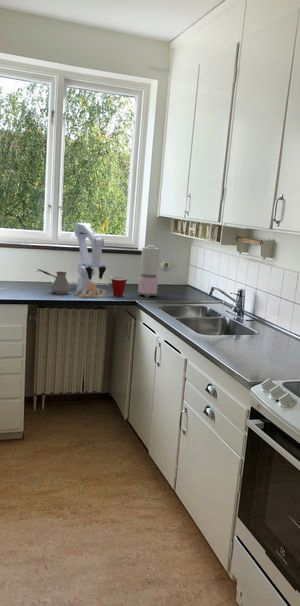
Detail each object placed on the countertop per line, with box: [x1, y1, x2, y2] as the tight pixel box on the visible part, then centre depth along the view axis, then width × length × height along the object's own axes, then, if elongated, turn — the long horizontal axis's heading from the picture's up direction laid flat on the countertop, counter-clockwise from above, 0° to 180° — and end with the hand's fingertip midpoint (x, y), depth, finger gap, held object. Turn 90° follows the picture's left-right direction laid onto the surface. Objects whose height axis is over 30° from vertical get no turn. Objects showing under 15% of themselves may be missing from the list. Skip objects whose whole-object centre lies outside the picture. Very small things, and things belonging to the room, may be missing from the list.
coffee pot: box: [37, 268, 71, 295], centre depth 307 cm, size 21×12×15 cm, turn 124°
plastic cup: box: [110, 275, 128, 298], centre depth 316 cm, size 11×11×12 cm
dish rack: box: [74, 288, 108, 299], centre depth 311 cm, size 11×17×4 cm, turn 128°
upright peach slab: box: [86, 281, 98, 295], centre depth 310 cm, size 8×2×7 cm, turn 38°
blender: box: [137, 244, 160, 298], centre depth 326 cm, size 16×12×32 cm
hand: (95, 278), depth 317 cm, fingers open, 7 cm apart
